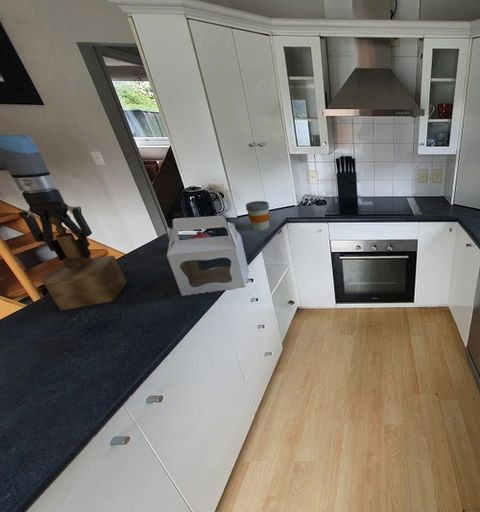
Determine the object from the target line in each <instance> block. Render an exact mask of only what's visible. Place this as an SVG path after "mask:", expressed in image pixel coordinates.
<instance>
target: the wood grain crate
mask: <svg viewBox="0 0 480 512" xmlns="http://www.w3.org/2000/svg"><path fill="white" fill-rule="evenodd" d="M91 259H92V261H93V262H92V263H90V264H88V265H86V266H83V267H79V268H73V269H68V268H66V266H65V265H64V263H61V264H60V265H59V266H58V267H56V269H54V270H53V271H52V272H50V273H49V274H48V275H47V276H45V277H44V278H43V279H41V282H42V283H43V285H44V287H45V288H46V290H47V291H48V293H49V294H50V296H51V297H52V299H53V301H54V302H55V304H56V305H57V307H58V309H59V310H60V311H66V310H72V309H76V308H82V307H87V306H88V307H89V306H95V305H99V304H104V303H110V302H111V303H112V302H114V301H115V299H116V298H117V297H118V296H119V294H120V293H121V292H122V290H123V288H124V287H125V286H126V284H127V280H126V278H125V276H124V273H123V272H122V269H121V267H120V265H119V263H118V261H117V258H116V256H115V255H107V256H101V257H91Z"/></svg>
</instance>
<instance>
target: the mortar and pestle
mask: <svg viewBox="0 0 480 512" xmlns="http://www.w3.org/2000/svg"><path fill="white" fill-rule="evenodd" d="M49 222H51V223H52V225H54V226H55V228H54V229H55V231H56V232H57V233H58V234H57V235H55V237H54V238H55V240H58V242H59V244H60V246H61V248H62V249H63V251H64V253H65V255H66V256H67V258H65V259H64V260H62V262H63V263H64V265H65V266H66V268H68V269H73V268H79V267H83V266H86V265H88V264H90V263H92V262H93V261H92V256H91V255H90V256H89V257H84V255H83V253H82V251H81V249H80V247H79V245H78V243H77V242H76V240H77V239H76V238H75V235H74V234H73V233H72V232H67V226H64V224H63V222H60V221H59V220H58V219H57V218H55V217H50V218H49ZM63 263H62V264H63Z"/></svg>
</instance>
